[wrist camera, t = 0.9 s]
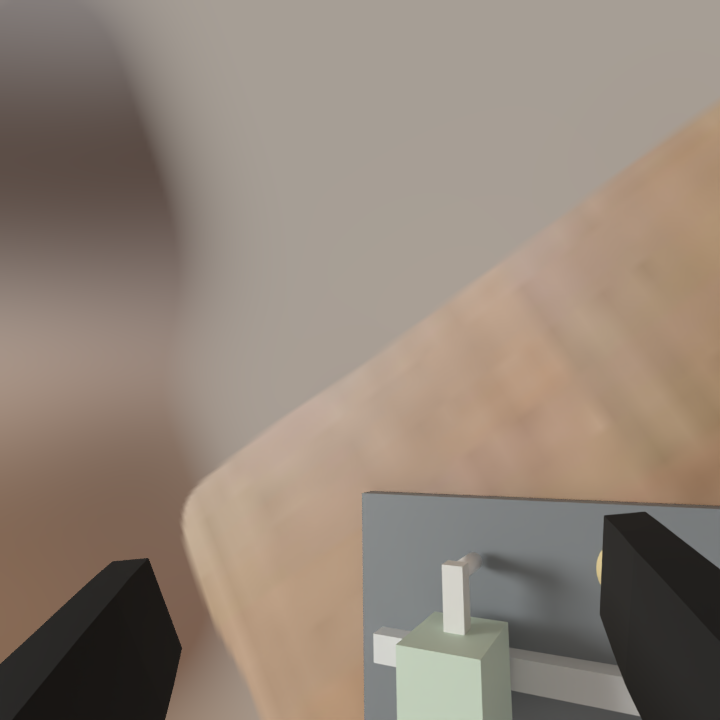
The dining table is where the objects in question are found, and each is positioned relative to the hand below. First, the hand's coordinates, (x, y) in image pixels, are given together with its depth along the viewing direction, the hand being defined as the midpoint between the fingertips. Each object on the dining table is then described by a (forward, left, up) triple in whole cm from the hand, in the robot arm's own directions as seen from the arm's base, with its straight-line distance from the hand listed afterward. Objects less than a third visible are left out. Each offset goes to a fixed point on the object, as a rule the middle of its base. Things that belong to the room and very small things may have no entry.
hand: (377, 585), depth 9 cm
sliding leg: (-6, +3, -15) cm, 16 cm away
